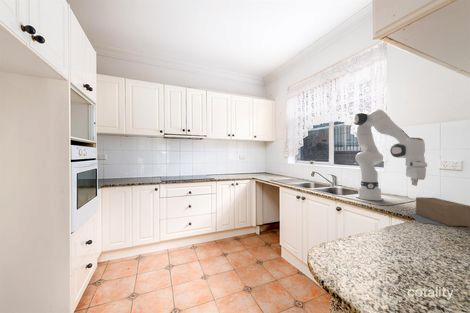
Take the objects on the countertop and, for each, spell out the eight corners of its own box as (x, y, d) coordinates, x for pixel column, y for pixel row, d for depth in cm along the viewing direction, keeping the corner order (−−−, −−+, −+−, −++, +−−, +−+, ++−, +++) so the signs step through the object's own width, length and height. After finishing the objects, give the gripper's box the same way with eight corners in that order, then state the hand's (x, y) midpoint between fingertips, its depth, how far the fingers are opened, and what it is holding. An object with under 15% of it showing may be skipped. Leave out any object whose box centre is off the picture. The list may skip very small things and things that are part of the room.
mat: (407, 213, 117) (407, 213, 117) (434, 216, 111) (434, 216, 111) (419, 222, 101) (419, 222, 101) (452, 226, 95) (452, 225, 95)
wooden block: (434, 214, 114) (471, 226, 94) (415, 214, 115) (448, 225, 95) (434, 197, 114) (471, 205, 94) (415, 197, 115) (447, 205, 95)
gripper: (403, 162, 133) (402, 182, 133) (414, 163, 115) (413, 187, 115) (415, 162, 130) (414, 183, 130) (428, 164, 112) (428, 188, 112)
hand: (414, 185), depth 122 cm, fingers closed
